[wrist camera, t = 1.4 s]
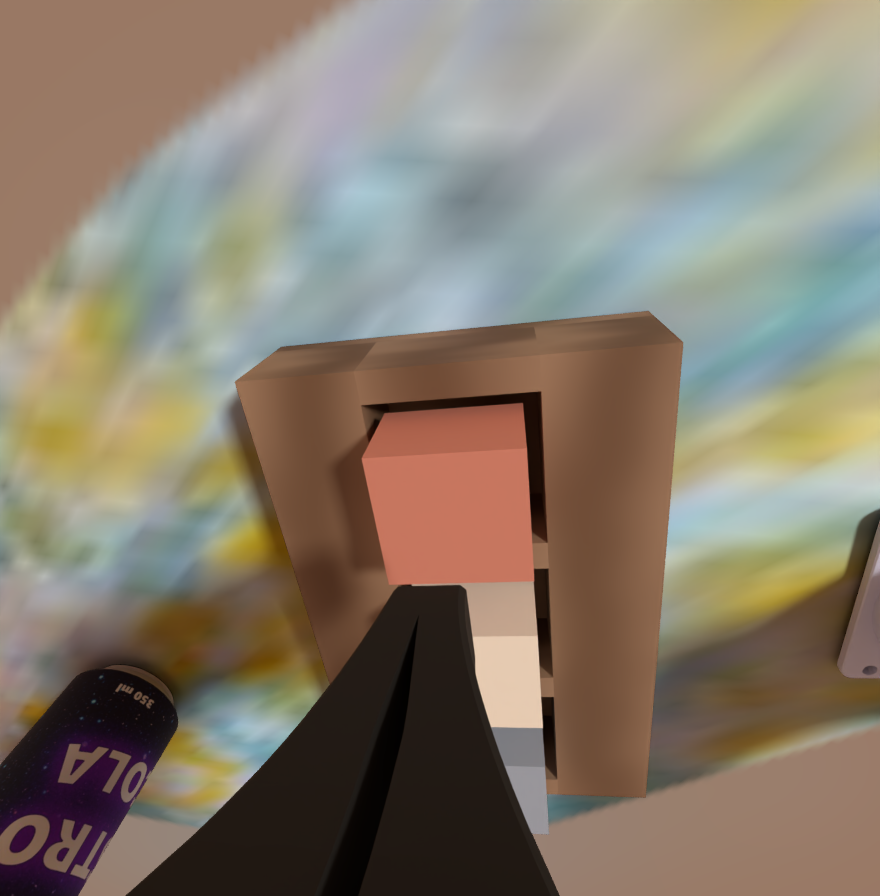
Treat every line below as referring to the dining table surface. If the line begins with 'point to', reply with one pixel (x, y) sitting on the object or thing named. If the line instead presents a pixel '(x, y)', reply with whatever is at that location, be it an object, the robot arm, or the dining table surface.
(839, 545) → the dining table surface
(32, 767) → the beverage can
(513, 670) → the ivory key
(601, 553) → the brown slotted tray
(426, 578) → the red key
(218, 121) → the dining table surface
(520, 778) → the grey block
